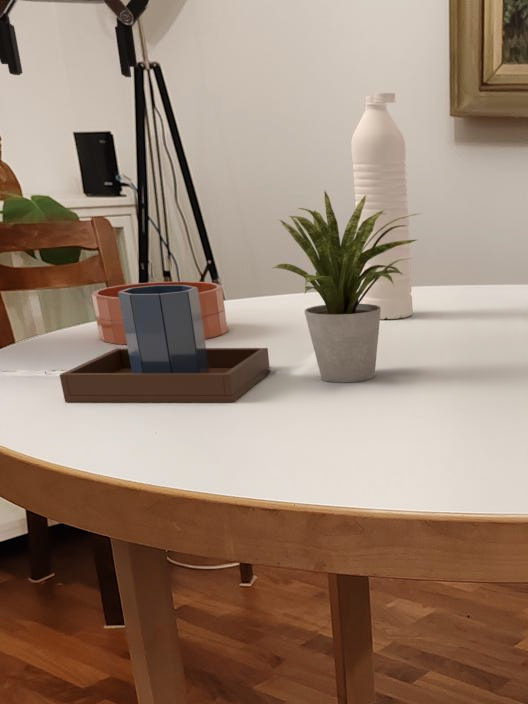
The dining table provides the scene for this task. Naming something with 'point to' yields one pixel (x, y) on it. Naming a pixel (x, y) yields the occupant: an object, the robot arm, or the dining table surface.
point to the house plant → (342, 292)
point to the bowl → (109, 299)
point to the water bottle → (383, 203)
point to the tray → (166, 379)
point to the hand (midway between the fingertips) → (72, 75)
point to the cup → (164, 329)
